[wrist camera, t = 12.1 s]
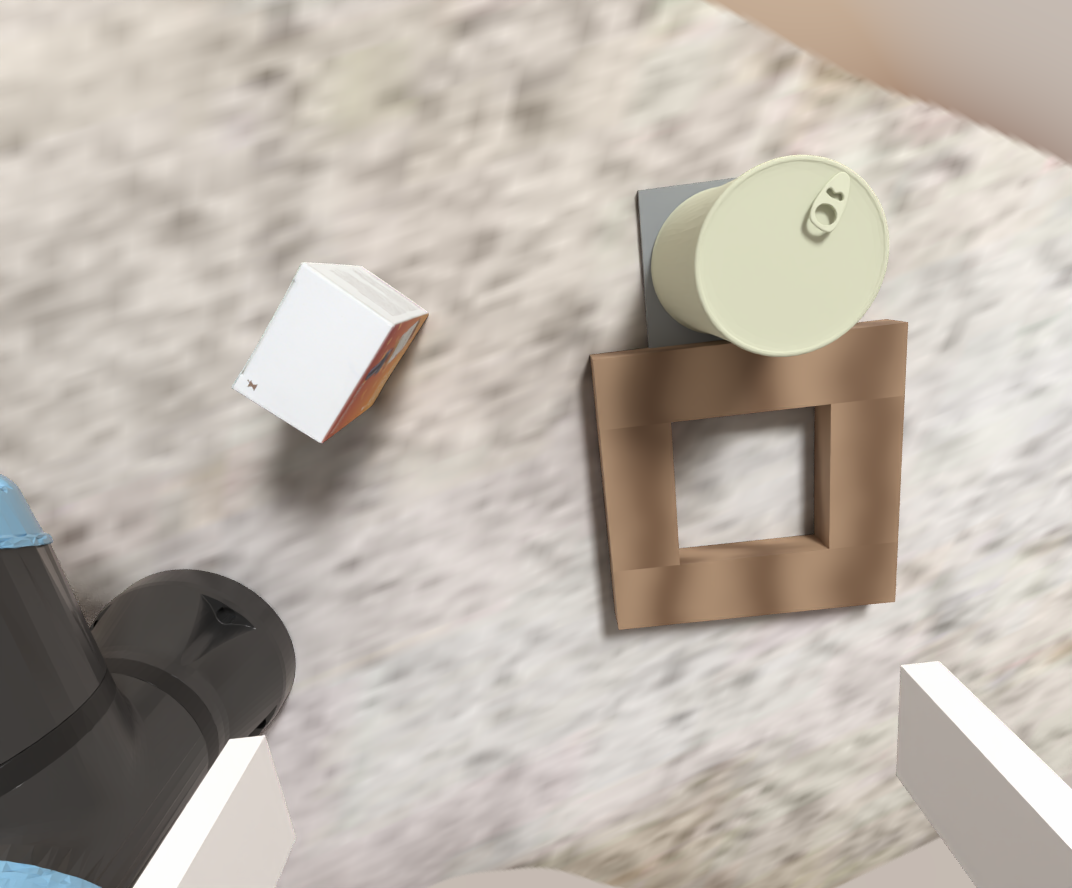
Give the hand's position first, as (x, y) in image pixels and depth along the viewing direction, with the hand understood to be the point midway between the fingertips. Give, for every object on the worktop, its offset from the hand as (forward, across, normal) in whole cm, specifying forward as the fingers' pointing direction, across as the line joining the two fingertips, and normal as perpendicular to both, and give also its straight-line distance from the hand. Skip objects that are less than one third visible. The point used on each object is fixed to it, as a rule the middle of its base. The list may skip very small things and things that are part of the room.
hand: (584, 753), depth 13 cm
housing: (+31, +13, -6) cm, 35 cm away
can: (+31, +12, +9) cm, 35 cm away
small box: (+32, -12, +7) cm, 34 cm away
